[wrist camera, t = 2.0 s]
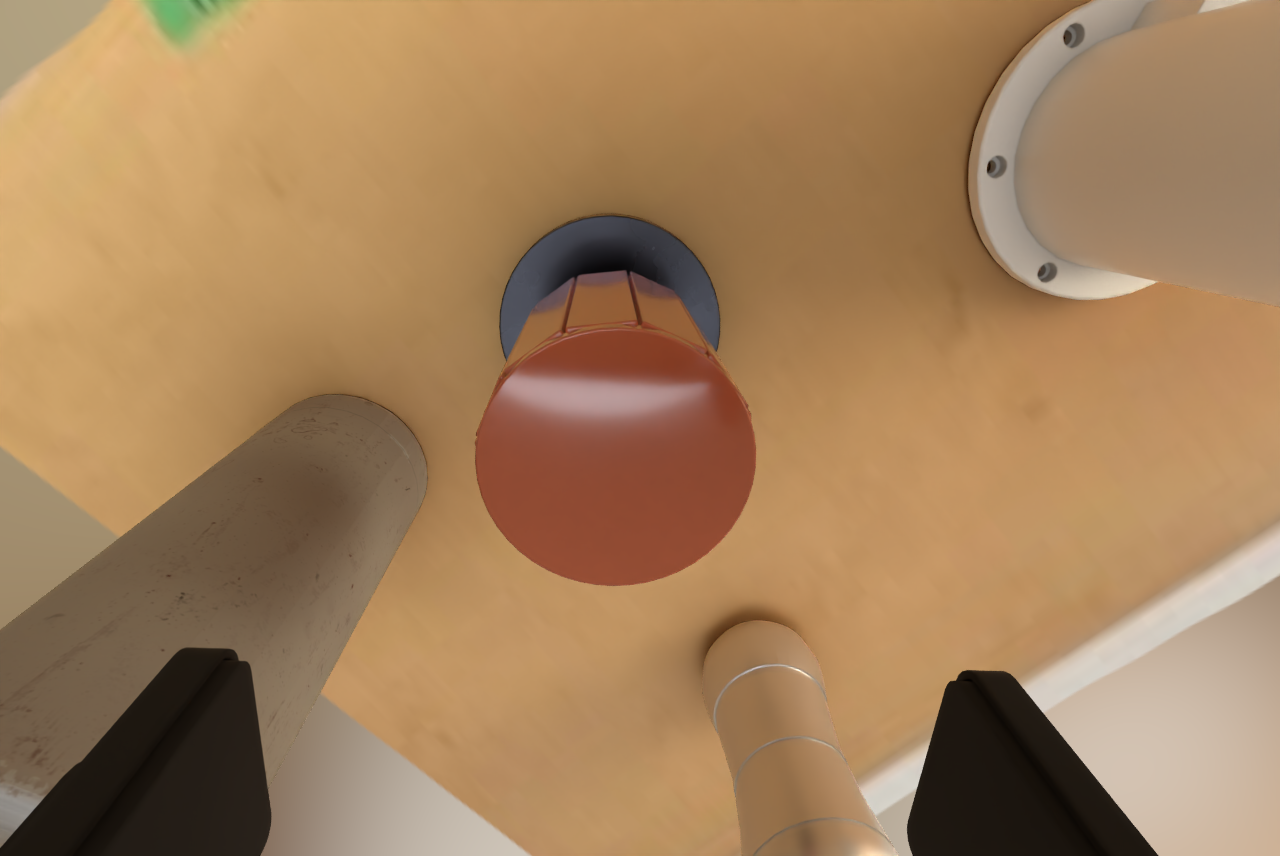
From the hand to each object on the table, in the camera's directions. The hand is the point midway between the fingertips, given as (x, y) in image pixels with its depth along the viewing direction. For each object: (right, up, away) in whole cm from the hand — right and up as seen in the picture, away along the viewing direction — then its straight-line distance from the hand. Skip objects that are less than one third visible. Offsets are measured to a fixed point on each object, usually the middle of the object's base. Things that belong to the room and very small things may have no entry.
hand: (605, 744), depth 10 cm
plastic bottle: (+7, -8, +31) cm, 32 cm away
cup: (-1, +7, +16) cm, 18 cm away
